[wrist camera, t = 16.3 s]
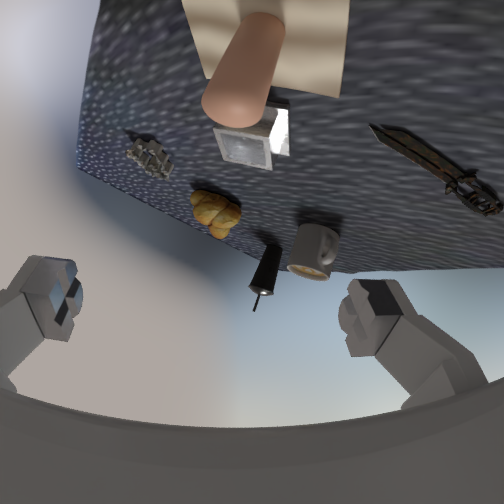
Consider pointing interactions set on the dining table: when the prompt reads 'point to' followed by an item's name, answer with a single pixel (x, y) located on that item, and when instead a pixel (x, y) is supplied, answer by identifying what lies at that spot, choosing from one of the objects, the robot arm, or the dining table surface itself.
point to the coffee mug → (314, 252)
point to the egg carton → (158, 161)
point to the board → (295, 41)
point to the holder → (257, 138)
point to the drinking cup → (266, 273)
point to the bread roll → (215, 212)
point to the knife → (440, 173)
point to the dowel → (245, 72)
